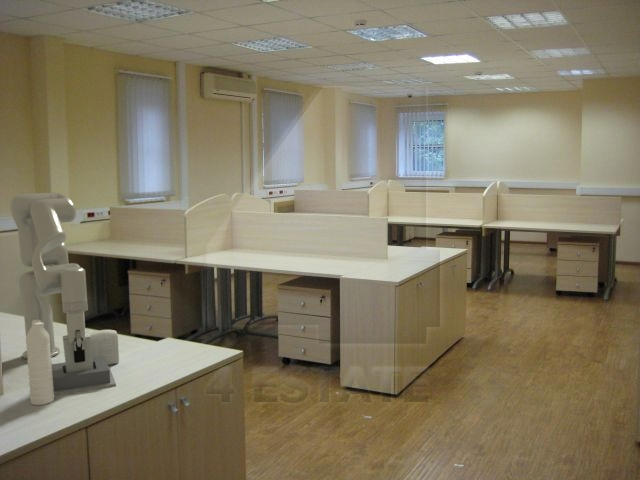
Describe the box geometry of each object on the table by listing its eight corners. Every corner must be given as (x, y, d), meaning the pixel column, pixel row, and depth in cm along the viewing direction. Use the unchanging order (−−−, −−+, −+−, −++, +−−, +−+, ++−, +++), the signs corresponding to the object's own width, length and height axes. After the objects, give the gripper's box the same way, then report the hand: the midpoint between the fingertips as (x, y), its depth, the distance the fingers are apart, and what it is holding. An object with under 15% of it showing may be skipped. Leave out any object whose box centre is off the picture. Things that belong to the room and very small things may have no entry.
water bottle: (29, 400, 197) (22, 319, 193) (52, 395, 200) (45, 316, 197) (34, 409, 189) (27, 326, 186) (57, 404, 193) (51, 322, 190)
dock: (46, 378, 216) (45, 363, 215) (109, 369, 224) (108, 355, 223) (48, 396, 200) (46, 380, 199) (115, 385, 208) (115, 370, 207)
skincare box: (92, 374, 216) (89, 331, 214) (94, 380, 211) (91, 335, 209) (65, 378, 213) (62, 334, 211) (67, 384, 207) (63, 339, 205)
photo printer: (117, 360, 234) (115, 326, 232) (121, 363, 230) (118, 329, 228) (87, 365, 228) (85, 331, 226) (91, 369, 224) (88, 334, 223)
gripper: (61, 301, 215) (64, 352, 217) (63, 313, 199) (67, 367, 201) (85, 299, 218) (88, 348, 220) (89, 310, 202) (93, 363, 204)
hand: (78, 357), depth 211 cm, fingers open, 9 cm apart
